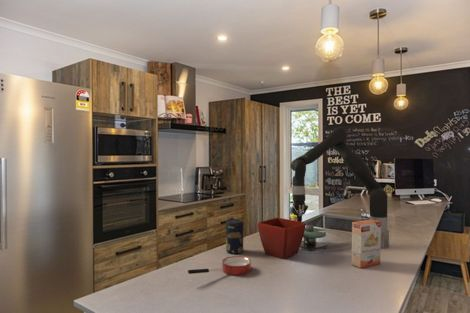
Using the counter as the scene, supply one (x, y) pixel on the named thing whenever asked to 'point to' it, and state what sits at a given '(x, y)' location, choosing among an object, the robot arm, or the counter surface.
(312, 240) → the pedestal
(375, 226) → the cracker box
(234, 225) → the canister
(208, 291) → the counter surface
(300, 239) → the plant pot
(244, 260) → the frying pan
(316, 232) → the handwheel
